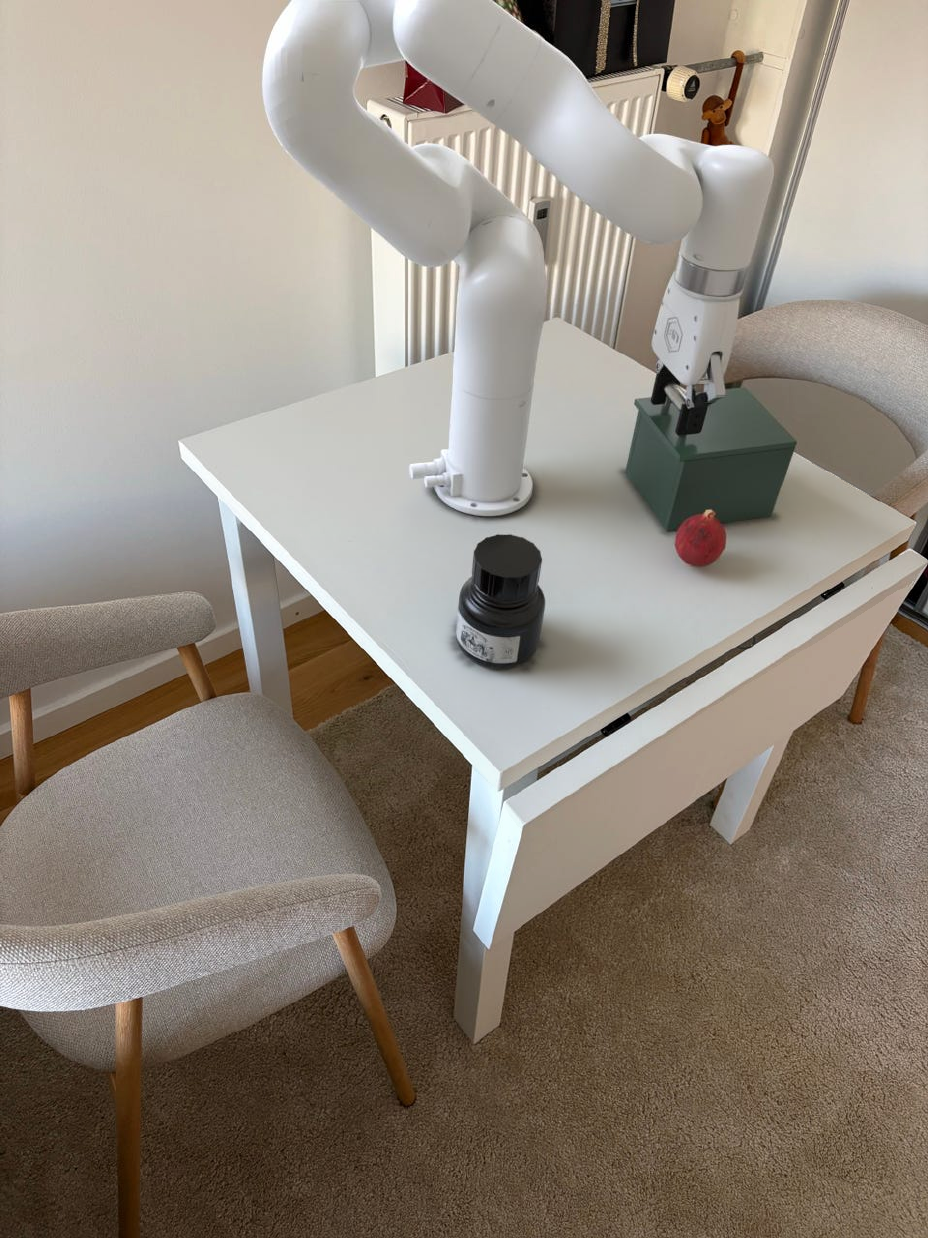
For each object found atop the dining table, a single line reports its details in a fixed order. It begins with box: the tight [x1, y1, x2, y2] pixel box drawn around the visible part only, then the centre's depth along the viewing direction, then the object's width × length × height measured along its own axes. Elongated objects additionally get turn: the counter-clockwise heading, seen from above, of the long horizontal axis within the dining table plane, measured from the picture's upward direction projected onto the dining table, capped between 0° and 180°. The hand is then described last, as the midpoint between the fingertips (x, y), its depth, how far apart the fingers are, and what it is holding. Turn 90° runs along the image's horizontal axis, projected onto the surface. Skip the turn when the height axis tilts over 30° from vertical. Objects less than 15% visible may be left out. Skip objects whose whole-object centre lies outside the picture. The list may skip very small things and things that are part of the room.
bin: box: [624, 410, 796, 532], centre depth 124 cm, size 15×13×10 cm
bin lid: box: [633, 380, 798, 462], centre depth 119 cm, size 16×13×5 cm
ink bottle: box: [455, 533, 546, 670], centre depth 102 cm, size 10×9×12 cm
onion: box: [674, 509, 727, 568], centre depth 115 cm, size 6×6×8 cm
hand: (675, 416), depth 118 cm, fingers closed on bin lid, 6 cm apart
